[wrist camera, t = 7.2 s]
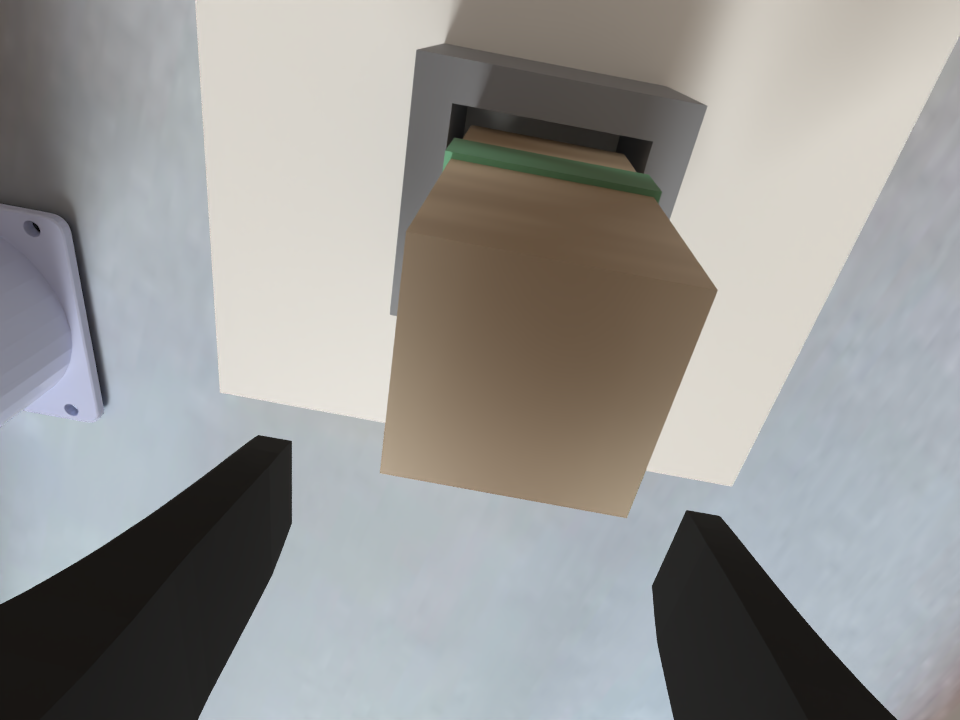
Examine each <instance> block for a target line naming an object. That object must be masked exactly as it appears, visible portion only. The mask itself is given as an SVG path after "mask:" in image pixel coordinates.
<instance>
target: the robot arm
mask: <svg viewBox="0 0 960 720" xmlns="http://www.w3.org/2000/svg"><path fill="white" fill-rule="evenodd" d="M33 222H34V223H35V224H37V225H38V227H39V229H40V232H38V231H37V230H36V229H35V228H34V226H33ZM73 405H74V406H75V407H76V408H77V409H76V408H75V407H74V406H73ZM22 410H23V411H28V412H34V413H39V414H45V415H50V416H56V417H61V418H67V419H72V420H78V421H83V422H95V421H97V420H98V419H99V418H100V417H101V416H102V415H103V414H104V407H103V402H102V396H101V391H100V386H99V380H98V375H97V369H96V364H95V359H94V353H93V348H92V342H91V337H90V331H89V326H88V321H87V315H86V310H85V304H84V299H83V294H82V288H81V283H80V277H79V272H78V266H77V261H76V256H75V250H74V245H73V239H72V234H71V230H70V227H69V225H68V224H67V223H66V221H65V220H64V219H63V218H61V217H60V216H58V215H56V214H53V213H48V212H43V211H38V210H32V209H27V208H21V207H16V206H11V205H5V204H0V427H1V426H3V425H4V424H5V423H7V422H8V421H9V420H11V419H12V418H13V417H15V416H16V415H17V414H19V413H20V412H21V411H22ZM291 524H292V441H289V440H283V439H277V438H272V437H266V436H260V435H258V436H256V437H255V438H253V439H252V440H250V441H249V442H248V443H246V444H245V445H244V446H242V447H241V448H240V449H238V450H237V451H236V452H234V453H233V454H232V455H231V456H229V457H228V458H227V459H225V460H224V461H223V462H221V463H220V464H219V465H218V466H216V467H215V468H214V469H212V470H211V471H210V472H208V473H207V474H206V475H204V476H203V477H202V478H200V479H199V480H198V481H196V482H195V483H194V484H192V485H191V486H190V487H188V488H187V489H185V490H184V491H183V492H181V493H180V494H178V495H177V496H176V497H174V498H173V499H172V500H170V501H169V502H167V503H166V504H165V505H163V506H162V507H160V508H159V509H158V510H156V511H155V512H153V513H152V514H150V515H149V516H148V517H146V518H145V519H143V520H142V521H140V522H139V523H137V524H136V525H134V526H132V527H131V528H129V529H128V530H126V531H125V532H123V533H122V534H120V535H119V536H117V537H116V538H114V539H113V540H111V541H110V542H108V543H107V544H105V545H104V546H102V547H101V548H99V549H97V550H96V551H94V552H92V553H91V554H89V555H88V556H86V557H84V558H83V559H81V560H79V561H78V562H76V563H74V564H73V565H71V566H69V567H68V568H66V569H64V570H63V571H61V572H59V573H57V574H56V575H54V576H52V577H50V578H49V579H47V580H45V581H43V582H42V583H40V584H38V585H36V586H35V587H33V588H31V589H29V590H27V591H25V592H24V593H22V594H20V595H18V596H16V597H14V598H12V599H10V600H8V601H6V602H4V603H2V604H0V720H198V718H199V716H200V714H201V712H202V710H203V708H204V706H205V703H206V701H207V699H208V697H209V695H210V693H211V691H212V689H213V687H214V686H215V684H216V682H217V680H218V678H219V676H220V674H221V672H222V670H223V668H224V667H225V665H226V663H227V661H228V659H229V657H230V655H231V653H232V651H233V649H234V647H235V646H236V644H237V642H238V640H239V638H240V636H241V634H242V632H243V630H244V628H245V627H246V625H247V623H248V621H249V619H250V617H251V615H252V613H253V611H254V609H255V607H256V605H257V604H258V602H259V600H260V598H261V596H262V594H263V592H264V590H265V588H266V586H267V584H268V582H269V580H270V578H271V576H272V574H273V571H274V569H275V566H276V564H277V561H278V559H279V556H280V554H281V551H282V548H283V546H284V543H285V540H286V537H287V535H288V532H289V529H290V527H291ZM652 591H653V604H654V616H655V626H656V635H657V643H658V648H659V653H660V658H661V663H662V667H663V672H664V677H665V681H666V686H667V690H668V695H669V699H670V704H671V708H672V713H673V717H674V720H897V719H896V718H895V717H894V716H893V715H892V714H891V713H890V712H889V711H888V710H887V709H886V708H885V707H884V706H883V705H882V704H881V703H880V702H879V701H878V700H877V699H876V698H875V697H874V696H873V695H872V694H871V693H870V692H869V691H868V690H867V689H866V687H865V686H864V685H863V684H862V683H861V682H860V681H859V680H858V679H857V678H856V677H855V676H854V674H853V673H852V672H851V671H850V670H849V669H848V668H847V667H846V666H845V665H844V664H843V662H842V661H841V660H840V659H839V658H838V657H837V656H836V655H835V654H834V653H833V652H832V650H831V649H830V648H829V647H828V646H827V645H826V644H825V643H824V641H823V640H822V639H821V638H820V637H819V636H818V635H817V633H816V632H815V631H814V630H813V629H812V628H811V626H810V625H809V624H808V623H807V622H806V621H805V619H804V618H803V617H802V616H801V615H800V614H799V612H798V611H797V610H796V609H795V608H794V606H793V605H792V604H791V603H790V602H789V600H788V599H787V598H786V597H785V595H784V594H783V593H782V592H781V591H780V589H779V588H778V587H777V586H776V584H775V583H774V582H773V581H772V580H771V578H770V577H769V576H768V575H767V573H766V572H765V571H764V570H763V568H762V567H761V566H760V565H759V563H758V562H757V561H756V560H755V558H754V557H753V556H752V555H751V553H750V552H749V551H748V550H747V548H746V547H745V546H744V545H743V543H742V542H741V541H740V540H739V539H738V537H737V536H736V535H735V534H734V532H733V531H732V530H731V529H730V528H729V526H728V525H727V524H726V523H725V522H724V520H723V519H722V518H721V517H720V516H717V515H711V514H705V513H699V512H694V511H688V510H686V512H685V515H684V517H683V519H682V521H681V523H680V526H679V528H678V530H677V532H676V534H675V537H674V539H673V541H672V543H671V545H670V548H669V550H668V552H667V554H666V556H665V559H664V561H663V563H662V565H661V567H660V570H659V572H658V574H657V576H656V578H655V581H654V583H653V585H652Z"/></svg>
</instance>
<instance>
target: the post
mask: <svg viewBox="0 0 960 720" xmlns="http://www.w3.org/2000/svg"><path fill="white" fill-rule="evenodd" d="M661 194H662V191H661V190H660V188H659V187H658V186H657V185H656V183H655V182H654V181H653V179H652V178H651V177H650V175H648V174H642V173H637V172H636V171H635V169H634V168H633V166H632V165H631V163H630V162H629V160H628V159H627V158H626V156H625V155H624V154H621V153H616V152H611V151H606V150H601V149H595V148H590V147H585V146H580V145H574V144H569V143H564V142H559V141H553V140H548V139H543V138H538V137H533V136H527V135H522V134H517V133H512V132H506V131H501V130H496V129H491V128H485V127H480V126H475V125H471V126H470V128H469V129H468V131H467V133H466V134H465V136H464V138H463V139H459V138H454V139H453V140H452V142H451V143H450V144H449V146H448V147H447V149H446V150H445V156H444V164H443V171H442V174H441V175H440V177H439V178H438V180H437V182H436V183H435V185H434V187H433V188H432V190H431V192H430V193H429V195H428V196H427V198H426V200H425V201H424V203H423V205H422V206H421V208H420V209H419V211H418V213H417V214H416V216H415V218H414V219H413V221H412V223H411V224H410V226H409V227H408V229H407V231H406V236H405V245H404V254H403V264H402V273H401V282H400V292H399V301H398V310H397V319H396V329H395V338H394V347H393V357H392V366H391V375H390V384H389V394H388V403H387V412H386V422H385V431H384V440H383V449H382V459H381V468H380V473H382V474H388V475H393V476H399V477H404V478H409V479H415V480H420V481H426V482H431V483H437V484H442V485H448V486H453V487H459V488H464V489H470V490H475V491H481V492H486V493H492V494H497V495H503V496H508V497H514V498H519V499H525V500H530V501H536V502H541V503H547V504H552V505H558V506H563V507H569V508H574V509H580V510H585V511H591V512H596V513H602V514H607V515H612V516H618V517H623V518H627V516H628V514H629V511H630V509H631V506H632V504H633V501H634V499H635V496H636V494H637V491H638V489H639V486H640V484H641V481H642V479H643V476H644V474H645V471H646V469H647V466H648V464H649V461H650V459H651V456H652V454H653V451H654V449H655V446H656V444H657V441H658V439H659V436H660V434H661V431H662V429H663V426H664V424H665V421H666V419H667V416H668V414H669V411H670V409H671V406H672V404H673V401H674V399H675V396H676V394H677V391H678V389H679V386H680V384H681V381H682V379H683V376H684V374H685V371H686V369H687V366H688V364H689V361H690V359H691V356H692V354H693V351H694V349H695V346H696V344H697V341H698V339H699V336H700V334H701V331H702V329H703V326H704V324H705V321H706V319H707V316H708V314H709V311H710V309H711V306H712V304H713V301H714V299H715V296H716V294H717V291H718V290H717V288H716V287H715V285H714V284H713V282H712V281H711V280H710V278H709V277H708V275H707V274H706V272H705V271H704V269H703V268H702V266H701V265H700V264H699V262H698V261H697V259H696V258H695V256H694V255H693V253H692V252H691V250H690V249H689V248H688V246H687V245H686V243H685V242H684V240H683V239H682V237H681V236H680V235H679V233H678V232H677V230H676V229H675V227H674V226H673V224H672V223H671V221H670V220H669V219H668V217H667V216H666V214H665V213H664V211H663V210H662V208H661V207H660V205H659V200H660V197H661Z"/></svg>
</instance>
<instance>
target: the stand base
mask: <svg viewBox="0 0 960 720" xmlns="http://www.w3.org/2000/svg"><path fill="white" fill-rule="evenodd" d="M195 5H196V21H197V36H198V52H199V68H200V84H201V99H202V115H203V131H204V147H205V162H206V178H207V194H208V210H209V225H210V241H211V257H212V273H213V288H214V304H215V320H216V336H217V351H218V367H219V383H220V393H225V394H231V395H236V396H242V397H247V398H253V399H258V400H263V401H269V402H274V403H280V404H285V405H291V406H296V407H302V408H307V409H313V410H318V411H323V412H329V413H334V414H340V415H345V416H351V417H356V418H362V419H367V420H372V421H378V422H383V423H385V422H386V412H387V403H388V394H389V384H390V375H391V366H392V357H393V347H394V338H395V329H396V319H397V310H398V301H399V292H400V282H401V273H402V264H403V254H404V245H405V236H406V231H407V229H408V227H409V226H410V224H411V223H412V221H413V219H414V218H415V216H416V214H417V213H418V211H419V209H420V208H421V206H422V205H423V203H424V201H425V200H426V198H427V196H428V195H429V193H430V192H431V190H432V188H433V187H434V185H435V183H436V182H437V180H438V178H439V177H440V175H441V174H442V171H443V164H444V156H445V150H446V149H447V147H448V146H449V144H450V143H451V142H452V140H453V139H454V138H459V139H463V138H464V136H465V134H466V133H467V131H468V129H469V128H470V126H471V125H475V126H480V127H485V128H491V129H496V130H501V131H506V132H512V133H517V134H522V135H527V136H533V137H538V138H543V139H548V140H553V141H559V142H564V143H569V144H574V145H580V146H585V147H590V148H595V149H601V150H606V151H611V152H616V153H621V154H624V155H625V156H626V158H627V159H628V160H629V162H630V163H631V165H632V166H633V168H634V169H635V171H636V172H637V173H642V174H648V175H650V177H651V178H652V179H653V181H654V182H655V183H656V185H657V186H658V187H659V188H660V190H661V191H662V194H661V197H660V200H659V205H660V207H661V208H662V210H663V211H664V213H665V214H666V216H667V217H668V219H669V220H670V221H671V223H672V224H673V226H674V227H675V229H676V230H677V232H678V233H679V235H680V236H681V237H682V239H683V240H684V242H685V243H686V245H687V246H688V248H689V249H690V250H691V252H692V253H693V255H694V256H695V258H696V259H697V261H698V262H699V264H700V265H701V266H702V268H703V269H704V271H705V272H706V274H707V275H708V277H709V278H710V280H711V281H712V282H713V284H714V285H715V287H716V288H717V290H718V291H717V294H716V296H715V299H714V301H713V304H712V306H711V309H710V311H709V314H708V316H707V319H706V321H705V324H704V326H703V329H702V331H701V334H700V336H699V339H698V341H697V344H696V346H695V349H694V351H693V354H692V356H691V359H690V361H689V364H688V366H687V369H686V371H685V374H684V376H683V379H682V381H681V384H680V386H679V389H678V391H677V394H676V396H675V399H674V401H673V404H672V406H671V409H670V411H669V414H668V416H667V419H666V421H665V424H664V426H663V429H662V431H661V434H660V436H659V439H658V441H657V444H656V446H655V449H654V451H653V454H652V456H651V459H650V461H649V464H648V466H647V469H646V471H650V472H656V473H661V474H667V475H672V476H678V477H683V478H688V479H694V480H699V481H705V482H710V483H716V484H721V485H727V486H733V484H734V482H735V480H736V478H737V476H738V474H739V472H740V470H741V468H742V466H743V464H744V462H745V460H746V458H747V456H748V454H749V452H750V450H751V448H752V446H753V444H754V442H755V440H756V438H757V436H758V434H759V432H760V430H761V428H762V426H763V424H764V422H765V420H766V418H767V416H768V414H769V412H770V410H771V408H772V406H773V404H774V402H775V400H776V398H777V396H778V394H779V392H780V390H781V388H782V387H783V385H784V383H785V381H786V379H787V377H788V375H789V373H790V371H791V369H792V367H793V365H794V363H795V361H796V359H797V357H798V355H799V353H800V351H801V349H802V347H803V345H804V343H805V341H806V339H807V337H808V335H809V333H810V331H811V329H812V327H813V325H814V323H815V321H816V319H817V317H818V315H819V313H820V311H821V309H822V307H823V305H824V303H825V301H826V299H827V297H828V295H829V293H830V291H831V289H832V287H833V285H834V283H835V281H836V280H837V278H838V276H839V274H840V272H841V270H842V268H843V266H844V264H845V262H846V260H847V258H848V256H849V254H850V252H851V250H852V248H853V246H854V244H855V242H856V240H857V238H858V236H859V234H860V232H861V230H862V228H863V226H864V224H865V222H866V220H867V218H868V216H869V214H870V212H871V210H872V208H873V206H874V204H875V202H876V200H877V198H878V196H879V194H880V192H881V190H882V188H883V186H884V184H885V182H886V180H887V178H888V176H889V174H890V173H891V171H892V169H893V167H894V165H895V163H896V161H897V159H898V157H899V155H900V153H901V151H902V149H903V147H904V145H905V143H906V141H907V139H908V137H909V135H910V133H911V131H912V129H913V127H914V125H915V123H916V121H917V119H918V117H919V115H920V113H921V111H922V109H923V107H924V105H925V103H926V101H927V99H928V97H929V95H930V93H931V91H932V89H933V87H934V85H935V83H936V81H937V79H938V77H939V75H940V73H941V71H942V69H943V67H944V66H945V64H946V62H947V60H948V58H949V56H950V54H951V52H952V50H953V48H954V46H955V44H956V42H957V40H958V38H959V36H960V0H195Z"/></svg>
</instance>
